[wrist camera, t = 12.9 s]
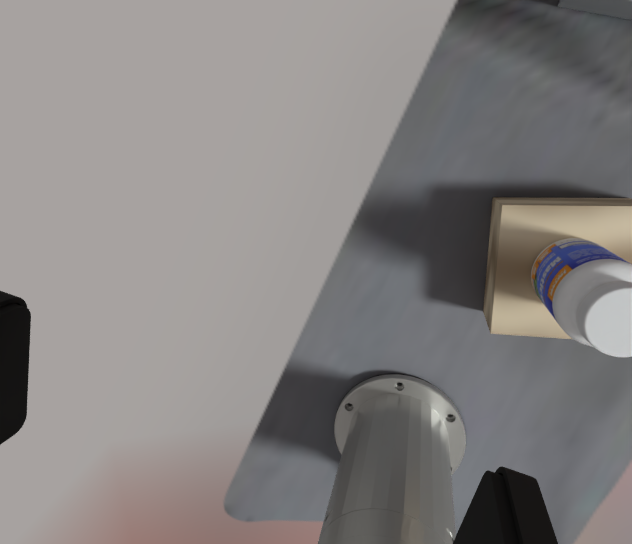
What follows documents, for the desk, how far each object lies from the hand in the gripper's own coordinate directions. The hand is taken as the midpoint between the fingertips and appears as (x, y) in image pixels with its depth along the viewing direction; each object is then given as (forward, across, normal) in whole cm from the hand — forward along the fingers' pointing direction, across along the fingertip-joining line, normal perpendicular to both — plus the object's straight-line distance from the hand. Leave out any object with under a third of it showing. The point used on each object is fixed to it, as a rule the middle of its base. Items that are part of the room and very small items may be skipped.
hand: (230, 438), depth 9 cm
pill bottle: (+28, -15, 0) cm, 32 cm away
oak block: (+33, -15, 0) cm, 36 cm away
